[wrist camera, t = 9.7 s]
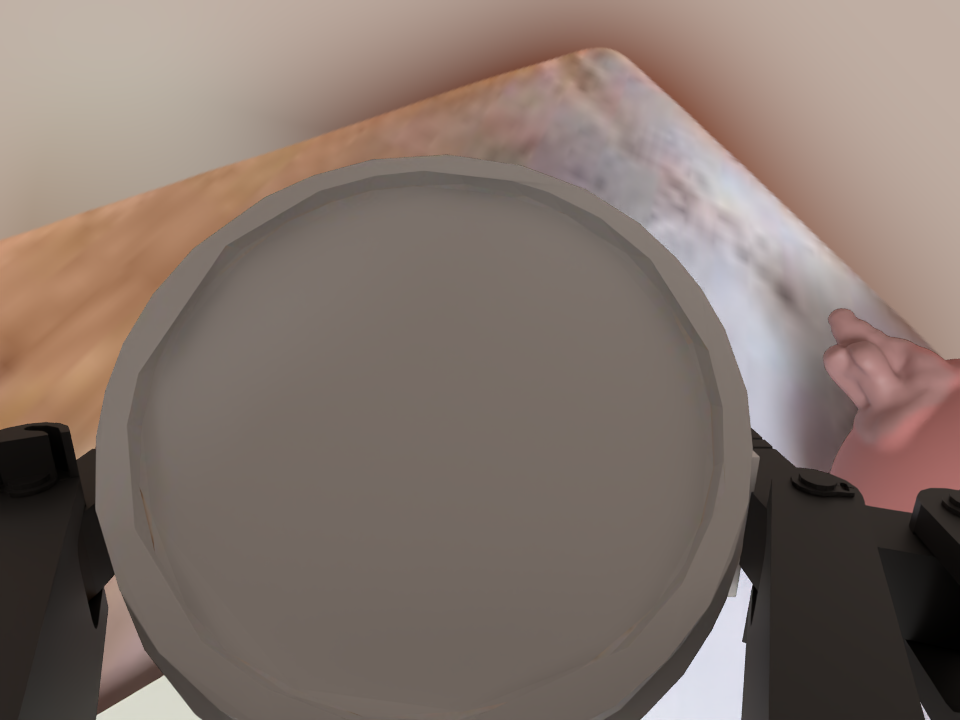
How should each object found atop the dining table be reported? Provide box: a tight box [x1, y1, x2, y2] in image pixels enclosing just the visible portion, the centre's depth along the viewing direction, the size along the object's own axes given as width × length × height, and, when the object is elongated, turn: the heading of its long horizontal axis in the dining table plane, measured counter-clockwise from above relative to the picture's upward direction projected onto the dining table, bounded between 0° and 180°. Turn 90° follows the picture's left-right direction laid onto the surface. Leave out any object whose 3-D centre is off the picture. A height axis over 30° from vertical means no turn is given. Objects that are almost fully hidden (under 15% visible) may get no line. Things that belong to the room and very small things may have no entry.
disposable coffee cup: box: [95, 155, 753, 720], centre depth 13 cm, size 10×10×12 cm
